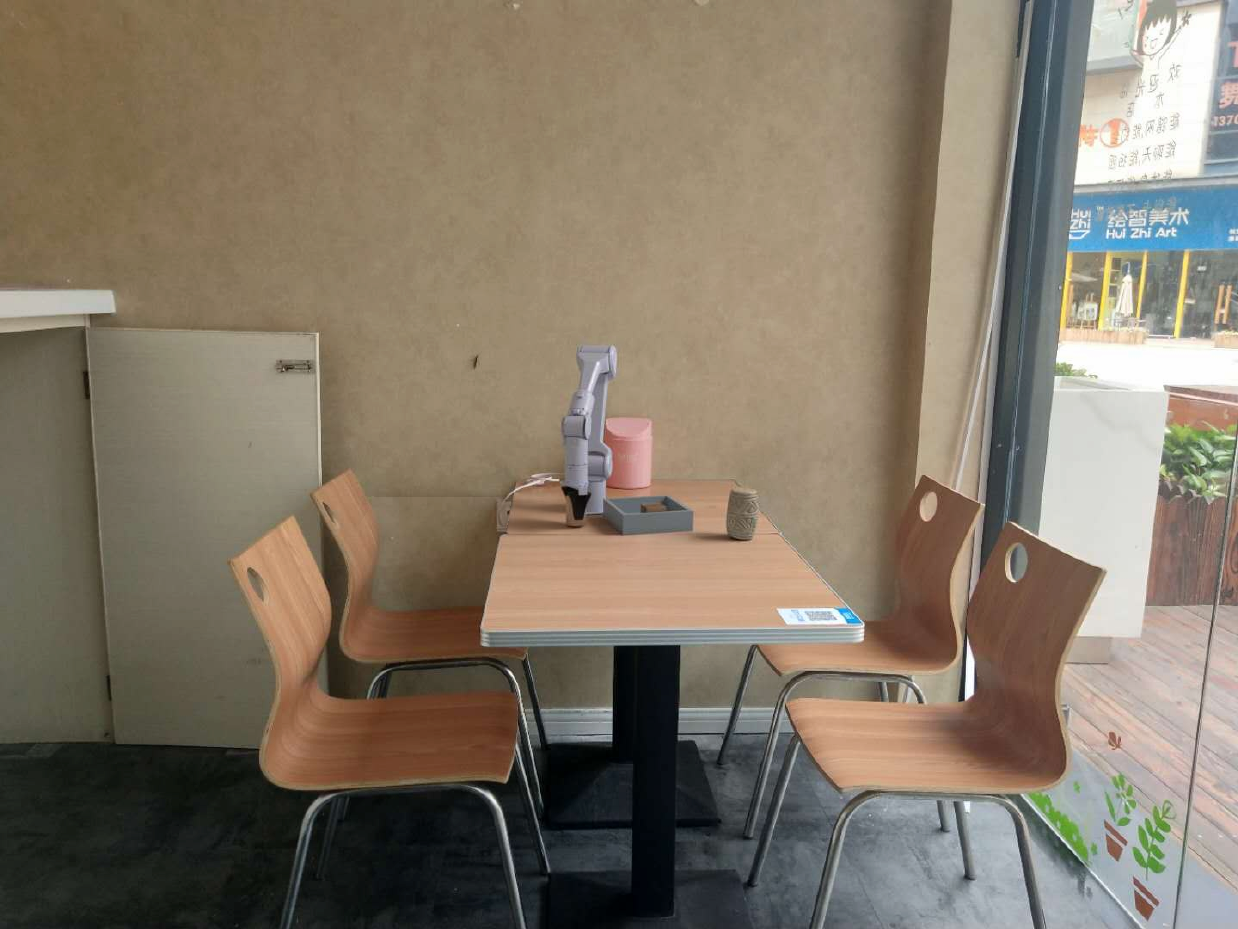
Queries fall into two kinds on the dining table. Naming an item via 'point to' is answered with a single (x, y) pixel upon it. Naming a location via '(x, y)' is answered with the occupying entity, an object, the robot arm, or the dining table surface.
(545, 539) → the dining table surface
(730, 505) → the carving
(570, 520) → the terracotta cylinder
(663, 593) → the dining table surface
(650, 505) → the walnut cube
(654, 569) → the dining table surface
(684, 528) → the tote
